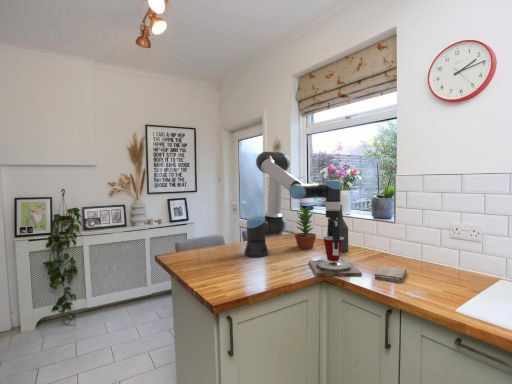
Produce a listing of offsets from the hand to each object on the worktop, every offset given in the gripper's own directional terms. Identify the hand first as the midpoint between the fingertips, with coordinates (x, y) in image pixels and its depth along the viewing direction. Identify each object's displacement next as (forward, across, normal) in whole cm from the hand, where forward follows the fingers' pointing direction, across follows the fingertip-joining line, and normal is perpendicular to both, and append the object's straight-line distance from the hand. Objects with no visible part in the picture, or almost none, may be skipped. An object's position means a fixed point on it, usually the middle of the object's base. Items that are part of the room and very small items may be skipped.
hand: (333, 252), depth 149 cm
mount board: (+9, 0, 0) cm, 9 cm away
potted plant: (+9, +49, +8) cm, 50 cm away
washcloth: (+9, -10, -25) cm, 28 cm away
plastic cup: (+4, 0, 0) cm, 4 cm away
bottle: (+9, +41, -14) cm, 44 cm away
